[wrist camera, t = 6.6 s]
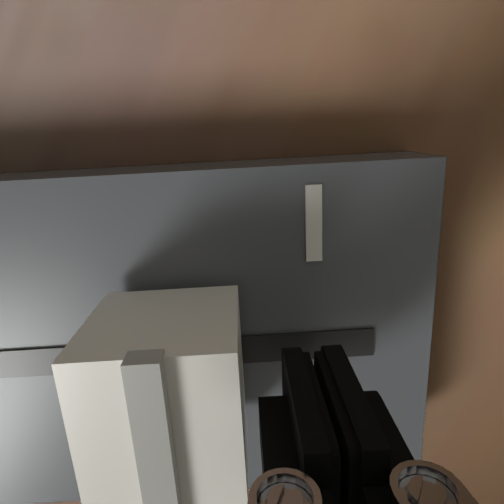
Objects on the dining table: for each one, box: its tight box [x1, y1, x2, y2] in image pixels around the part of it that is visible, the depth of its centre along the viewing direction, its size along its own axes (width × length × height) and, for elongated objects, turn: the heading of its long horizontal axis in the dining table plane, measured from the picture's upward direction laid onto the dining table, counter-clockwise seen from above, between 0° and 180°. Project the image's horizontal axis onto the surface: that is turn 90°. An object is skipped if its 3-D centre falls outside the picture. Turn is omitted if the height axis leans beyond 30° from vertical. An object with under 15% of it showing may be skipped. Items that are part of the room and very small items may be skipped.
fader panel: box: [0, 151, 447, 504], centre depth 15 cm, size 12×28×3 cm, turn 93°
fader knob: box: [51, 285, 249, 504], centre depth 11 cm, size 5×4×4 cm
